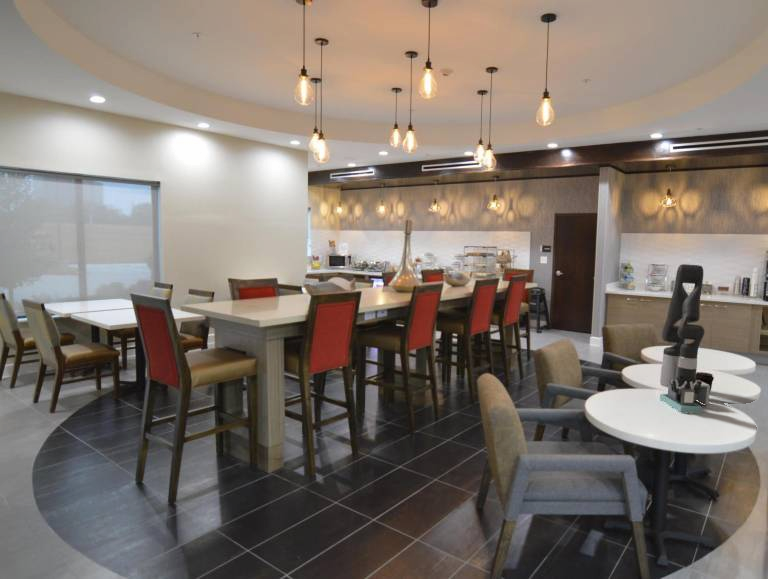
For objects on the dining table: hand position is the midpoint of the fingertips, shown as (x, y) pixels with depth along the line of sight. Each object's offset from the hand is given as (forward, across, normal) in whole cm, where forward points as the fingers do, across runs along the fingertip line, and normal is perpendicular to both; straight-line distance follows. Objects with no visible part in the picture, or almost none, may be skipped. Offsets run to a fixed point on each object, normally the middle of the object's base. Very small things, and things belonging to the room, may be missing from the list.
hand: (683, 401), depth 241 cm
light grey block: (+4, -10, -9) cm, 14 cm away
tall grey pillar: (+1, 0, -3) cm, 4 cm away
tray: (+4, 0, -3) cm, 5 cm away
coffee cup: (+4, -19, -17) cm, 26 cm away
